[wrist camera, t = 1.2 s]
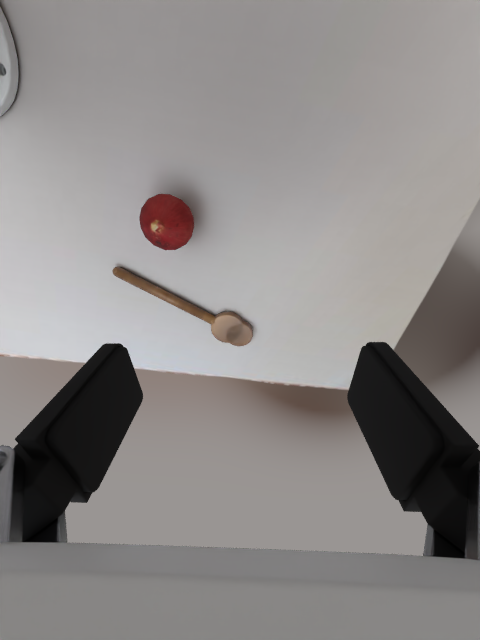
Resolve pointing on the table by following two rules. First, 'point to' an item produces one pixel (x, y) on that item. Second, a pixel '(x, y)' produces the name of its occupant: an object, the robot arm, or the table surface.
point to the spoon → (197, 312)
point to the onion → (166, 221)
